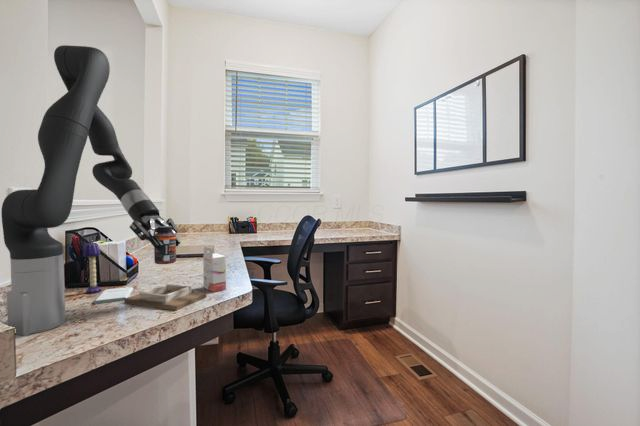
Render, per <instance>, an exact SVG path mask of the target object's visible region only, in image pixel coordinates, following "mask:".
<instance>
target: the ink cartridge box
mask: <svg viewBox="0 0 640 426" xmlns="http://www.w3.org/2000/svg"><path fill="white" fill-rule="evenodd" d="M202 258H203V259H202V260H203V263H202V264H203V288H205V289H206V290H209V291H211V292H213V293H214V292H219V291H225V290H227V279H226V278H227V276H226V275H227V274H226V268H227V266H226V265H227V264H226V263H227V261H226V260H227V259H226V255H222V254H219V253H216V252H215V253H214V249H213V248H211V247H209V246H203V257H202Z"/></svg>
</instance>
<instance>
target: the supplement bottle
mask: <svg viewBox="0 0 640 426" xmlns="http://www.w3.org/2000/svg"><path fill="white" fill-rule="evenodd" d="M157 231H158V232H156V233H155V236H157V237H158V239H159V240H160V241H161V243H162V244H163V247H162V248H161V249H160V250H157V249H156V248H155V247H154V246H153V249H154V250H153V251H154V254H153V255H154V258H153V259H154V264H156V265H171V264H174V263H176V262H177V246H176V236H177V234H176V235H175V234H174V233H173V232H172V226H159V227H158V230H157Z"/></svg>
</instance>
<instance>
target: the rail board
mask: <svg viewBox="0 0 640 426" xmlns="http://www.w3.org/2000/svg"><path fill="white" fill-rule="evenodd" d="M205 298H207V293H205V292H204V293H203V292H196V291H192V286H187V285H179V284H171V283H167V284H162V285H160V286H157V287H153V288H150V289H146V290H144V291H141V292H139V293H138V294H135V295H131V296H129V297H128V298H125V299H124V303H125V304H131V305H139V306H145V307H150V308H151V307H153V308H158V309H166V310H170V311H179V310H181V309H183V308H185V307H187V306H190V305H192V304H194V303H197V302H199V301H202V300H203V299H205Z"/></svg>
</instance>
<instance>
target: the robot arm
mask: <svg viewBox="0 0 640 426" xmlns="http://www.w3.org/2000/svg"><path fill="white" fill-rule="evenodd" d="M53 59H54V64H55V67H56V70H57V71H58V74H59V76H60V78H61V80H62V82H63V84H64V87H65V88H66V89H67V92H65V94H64V95H62V96H61V97H59V99H57V100H56V101H54V103H52V104H51V105H50V106H49V107H48V109H47V110H46V111H45V113H44V115H43V117H42V120H41V123H40V126H39V129H38V132H37V142H38V147H39V149H40V152H41V155H42V159H43V162H44V169H43V174H42V177H41V180H40V182H39V185H38V187H37V189H19V190H15V191H11V192H10V193H9V194H7V196H5V198H4V199H3V202H2V205H1V226H2V233H3V243H4V245H5V247H6V249H7V250H8V252H9V259H10V261H9V262H10V285H11V286H10V287H11V288H10V289H11V290H8V291H7V292H6V306H7V307H6V311H7V312H6V313H7V314H6V315H7V327H8V326H12V327H15V329H16V334H15V335H20V336H28V335H30V334H36V333H41V332H45V331H49V330H52V329H55V328H58V327H59V326H61V325H63V324H65V323H66V315H67V313H66V293H65V287H66V286H65V263H64V262H65V259H64V245H63V243H62V241H59V240H58V239H57V240H56V239H55V238H53V237H52V236H51V235H50V233H49V230H48V229H51V228H57V227H59V226H61V225H63V224H64V223H66V221H67V220H68V218H69V217H70V215H71V211H72V207H73V202H74V194H75V188H76V181H77V176H78V172H79V168H80V164H81V160H82V156H83V153H84V149H85V147H86V144H87V140H88V139H89V143H90V145H91V148H92V152H93V153H94V154H96V155H97V156H109V157H112V158H113V160H108V161H104V162H98V163H96V164H94V166H93V167H92V175H93V177H94V179H95V180H96V181H97V183H99V184H100V185H101V186H103V187H104V188H106V189H107V190H108V191H110V192H112V193H113V194H114V195H115V196H116V198H117V199H118V200H119V202H120V203H121V205H122V206H123V208H124V210H125V212H127V214H128V215H129V217H130V218H131V219H132V222H131V224H130V225H129V229H131V231H132V232H133V233H134V234H135V235H136V236H137V237H138V239H140V240H141V241H143V242H144V241H145V240H146V241H148V242H149V243H151V244H152V246H153V248H154V247H155V248H156V249H157V250H160V249H161V248H162V247H163V244H162V243H161V241H160V240H159V239H158V237H157V236H155V234H156V233H158V231H157V230H158V227H159V226H172V232H173V233H174V234H175V235H176V247H179V245H181V240H180V239H179V237H178V236H177V233H179V229H178V226H176V223H175V222H174V220H173V219H172V218H171V217H169V218H168V219H164V217H163V218H162V217H161V215H160V211H159V209H158V207H157V206H156V205H155V203H154V202H153V201H152V200H151V199H150V197H149V196H148V195H147V194H146V193H145V192H144V191H143V189H141V187H140V186H139V185H138V182H136V181H135V180H134V179H131V178H132V176H133V168H132V167H131V165H130V163H129V162H128V160H127V159H126V157H125V155H124V154H123V151H122V150H121V148H120V144H119V142H118V138H117V135H116V134H117V133H116V131H115V128H114V126H113V124H112V122H111V121H110V119H109V118H108V117H107V115H106V114H105V113H104V112H103V111H102V110H101V109H100V107H99V106H98V103H99V100H100V98H101V96H102V94H103V92H104V90H105V88H106V85H107V83H108V81H109V76H110V72H111V71H110V70H111V67H110V62H109V59H108V57H107V55H106V53H104V52H103V51H102V50H101V49H99V48H96V47H93V46H86V45H85V46H84V45H83V46H82V45H68V44H65V45H59V46H57V47H56V48H55V49H54V52H53Z"/></svg>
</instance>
